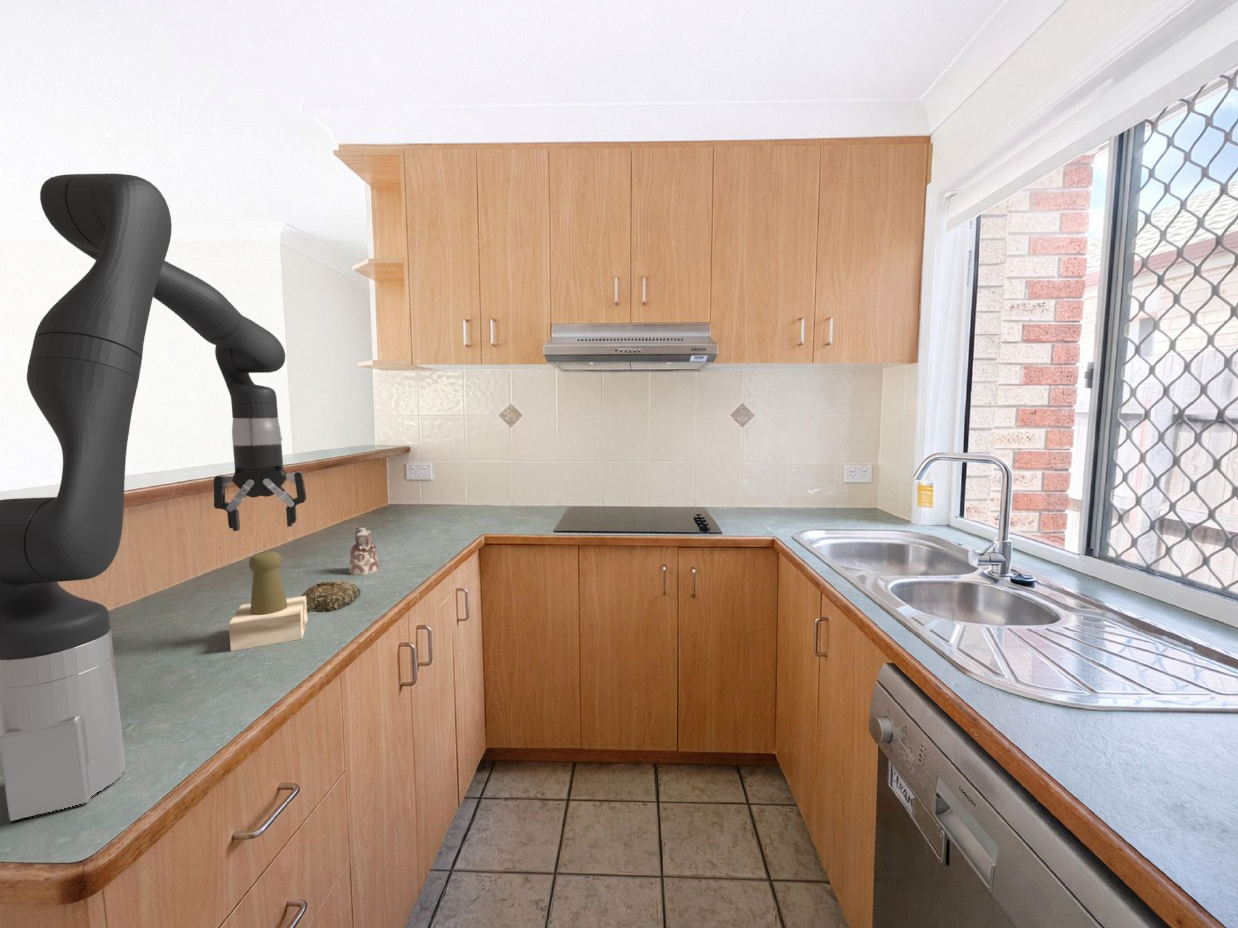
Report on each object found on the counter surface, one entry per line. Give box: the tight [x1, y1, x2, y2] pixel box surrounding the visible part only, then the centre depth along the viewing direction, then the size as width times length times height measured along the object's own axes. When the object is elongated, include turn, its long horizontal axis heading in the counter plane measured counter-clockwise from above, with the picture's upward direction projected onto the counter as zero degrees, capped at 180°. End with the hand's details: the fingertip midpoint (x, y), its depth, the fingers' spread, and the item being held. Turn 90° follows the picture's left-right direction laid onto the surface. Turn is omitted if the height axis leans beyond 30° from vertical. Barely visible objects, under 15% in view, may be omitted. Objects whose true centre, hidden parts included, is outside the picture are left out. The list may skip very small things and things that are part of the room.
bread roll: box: [300, 580, 361, 613], centre depth 119 cm, size 13×12×5 cm
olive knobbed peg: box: [248, 551, 288, 615], centre depth 101 cm, size 6×6×11 cm
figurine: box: [348, 525, 380, 576], centre depth 143 cm, size 7×7×12 cm
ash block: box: [228, 595, 309, 652], centre depth 102 cm, size 11×11×5 cm
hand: (264, 528), depth 100 cm, fingers open, 8 cm apart
